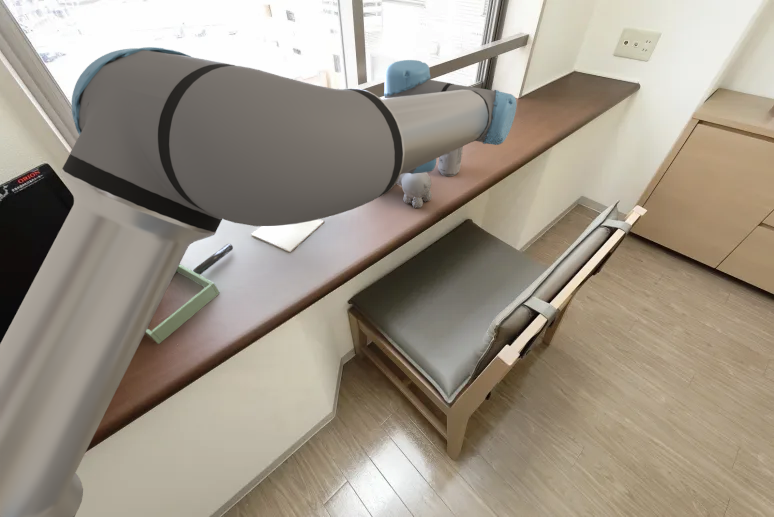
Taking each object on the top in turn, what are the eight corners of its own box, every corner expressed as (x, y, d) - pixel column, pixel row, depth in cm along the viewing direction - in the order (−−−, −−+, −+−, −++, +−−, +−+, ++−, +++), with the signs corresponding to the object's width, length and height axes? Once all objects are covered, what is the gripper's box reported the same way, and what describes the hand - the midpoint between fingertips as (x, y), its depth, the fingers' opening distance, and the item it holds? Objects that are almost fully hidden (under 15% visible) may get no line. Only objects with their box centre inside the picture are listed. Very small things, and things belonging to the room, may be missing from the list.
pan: (158, 344, 59) (149, 335, 57) (116, 313, 64) (107, 304, 62) (256, 262, 72) (251, 252, 70) (215, 242, 77) (209, 232, 75)
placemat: (290, 252, 74) (289, 251, 74) (251, 235, 79) (250, 234, 78) (324, 222, 81) (323, 221, 81) (286, 208, 86) (286, 206, 86)
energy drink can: (439, 165, 98) (444, 113, 88) (460, 167, 97) (467, 114, 86) (436, 176, 94) (440, 122, 84) (457, 178, 93) (465, 124, 82)
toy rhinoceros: (402, 182, 93) (402, 153, 86) (436, 200, 86) (438, 170, 80) (383, 193, 89) (381, 164, 83) (416, 212, 83) (417, 182, 77)
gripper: (354, 199, 62) (231, 201, 63) (361, 149, 76) (259, 151, 77) (349, 162, 57) (215, 165, 58) (358, 115, 70) (248, 118, 71)
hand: (240, 157), depth 67 cm, fingers closed on plastic bottle, 6 cm apart
